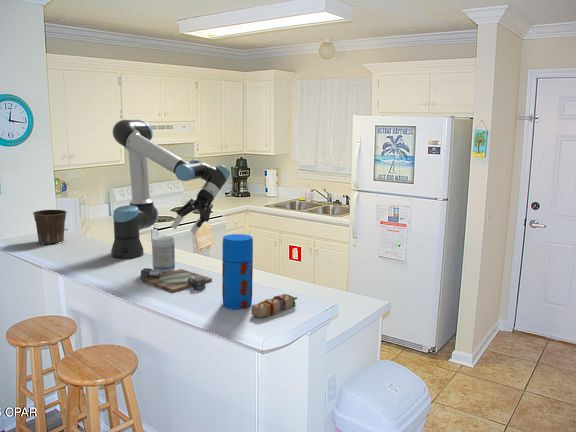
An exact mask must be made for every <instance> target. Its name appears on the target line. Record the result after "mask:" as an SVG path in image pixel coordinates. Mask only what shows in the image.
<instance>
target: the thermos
mask: <svg viewBox="0 0 576 432" xmlns="http://www.w3.org/2000/svg"><path fill="white" fill-rule="evenodd" d="M253 263H254V239H253V236H252V235H249V234H242V233H240V234H239V233H237V234H235V233H233V234H225V236H224V235H223V237H222V270H221V271H222V272H221V273H222V275H221V277H222V280H221V281H222V289H221V290H222V293H221V294H222V306H223V307H224V308H227V309H230V310H244V309H249V308H250V307H252V304H253V273H254V272H253V270H254V269H253V268H254V266H253V265H254V264H253Z"/></svg>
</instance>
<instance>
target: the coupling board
mask: <svg viewBox="0 0 576 432" xmlns="http://www.w3.org/2000/svg"><path fill="white" fill-rule="evenodd" d="M189 277H192V278H199V277H202V278H205V284H207V283H211V282H213V278H211V277H208V276H205V275H202V274H199V273H195V272H192V271H189V270H186V269H182V268H180V269H174V270H173V271H171V272H166V273H160V276H159V277H148V278H143V279H142V280H141V281H142V283H144V284H145V283H146V284H149V285H151V286H154V287H156V288H158V289H163V290H164V291H167V292H171V293H176V292H179V291H183V290H187V289H189V288H193V284H191V283H188V278H189Z"/></svg>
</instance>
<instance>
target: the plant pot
mask: <svg viewBox="0 0 576 432" xmlns="http://www.w3.org/2000/svg"><path fill="white" fill-rule="evenodd" d="M67 213H68V211H66V210H64V209H42V210H36V211H33V212H32V215H33V217H34V222H35V227H36V233H37V239H38V243H39V242H40V243H45V244H44V245H49V244H50V245H53V244H52V243H59V242H62V241H63V242H64V241H65V227H66V225H65V223H66V218H67ZM63 242H62V243H63ZM40 243H39V244H40ZM59 244H60V243H59Z"/></svg>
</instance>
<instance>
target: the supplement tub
mask: <svg viewBox="0 0 576 432" xmlns="http://www.w3.org/2000/svg"><path fill="white" fill-rule="evenodd" d="M151 240H152V241H151V256H152V258H151V259H152V271H159V272H160V274H163V273H167V272H171V271H175V270H176V263H175V261H176V259H175V258H176V257H175V256H176V255H175V254H176V253H175V238H174V236H172V235H158V236H157V235H156V236H153V237H151Z"/></svg>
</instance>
